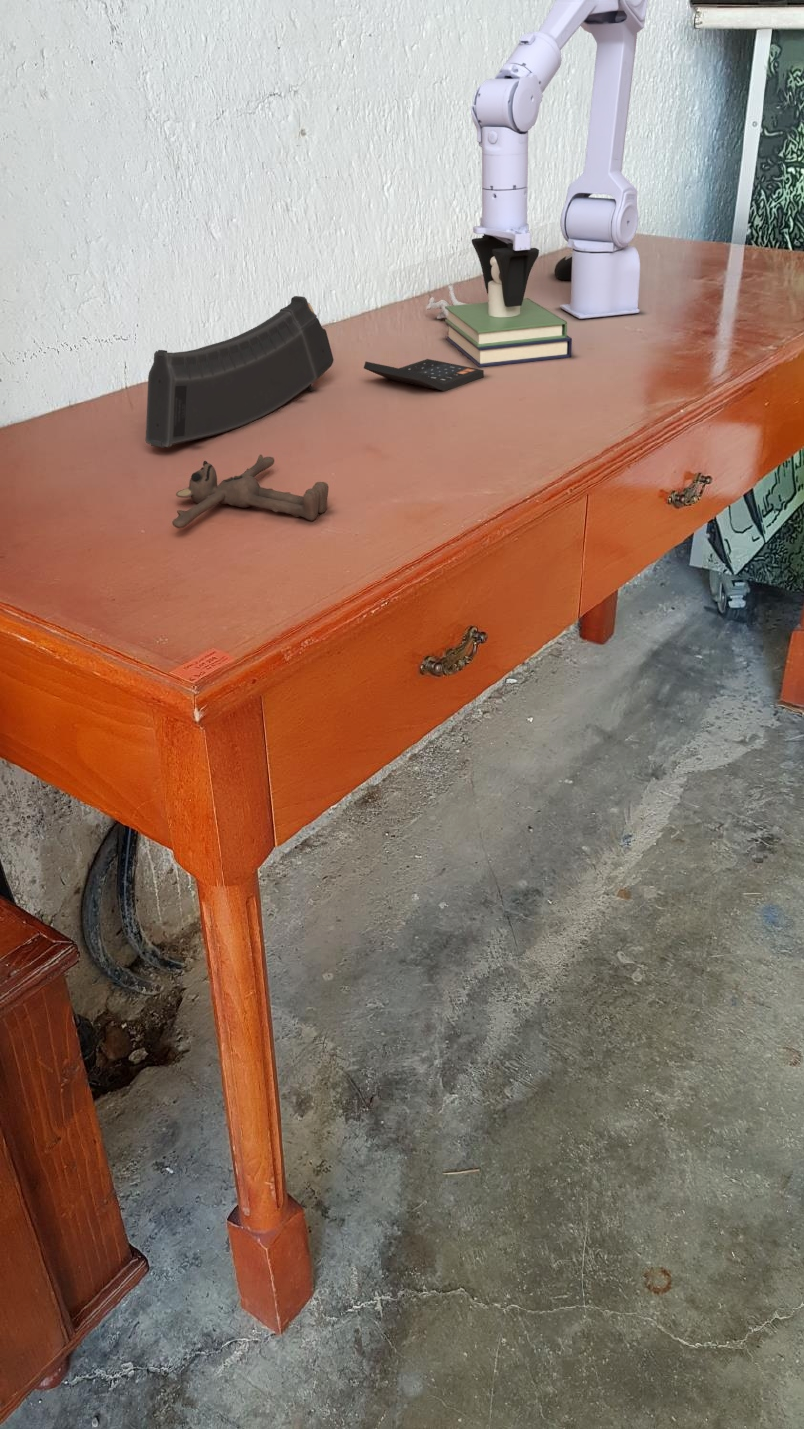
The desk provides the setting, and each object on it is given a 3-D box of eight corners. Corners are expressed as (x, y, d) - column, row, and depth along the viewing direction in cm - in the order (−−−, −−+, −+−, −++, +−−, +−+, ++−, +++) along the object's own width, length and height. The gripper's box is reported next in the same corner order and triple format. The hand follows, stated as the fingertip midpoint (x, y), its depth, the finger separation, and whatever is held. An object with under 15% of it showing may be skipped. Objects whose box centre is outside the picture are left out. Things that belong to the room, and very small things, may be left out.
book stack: (531, 330, 161) (531, 297, 159) (571, 357, 148) (572, 322, 146) (445, 339, 159) (444, 306, 157) (478, 367, 146) (478, 332, 144)
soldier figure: (458, 321, 172) (512, 306, 162) (446, 349, 171) (500, 335, 161) (422, 289, 167) (476, 271, 158) (410, 317, 166) (462, 301, 157)
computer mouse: (630, 279, 187) (632, 253, 185) (557, 282, 188) (557, 256, 186) (623, 270, 194) (624, 245, 192) (552, 273, 194) (553, 248, 192)
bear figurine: (274, 521, 97) (128, 488, 101) (275, 567, 99) (132, 533, 103) (361, 453, 111) (229, 426, 115) (360, 494, 113) (231, 467, 117)
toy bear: (488, 310, 154) (488, 253, 150) (520, 309, 153) (521, 252, 149) (487, 318, 150) (487, 259, 146) (519, 317, 150) (520, 258, 146)
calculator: (483, 377, 142) (483, 352, 141) (420, 399, 135) (420, 374, 134) (427, 365, 148) (426, 341, 146) (364, 386, 141) (363, 362, 139)
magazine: (140, 379, 114) (304, 237, 130) (116, 376, 116) (281, 236, 131) (195, 517, 126) (339, 372, 142) (173, 512, 128) (317, 369, 143)
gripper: (457, 182, 149) (459, 291, 156) (491, 197, 137) (491, 314, 144) (509, 178, 150) (508, 287, 157) (547, 192, 138) (544, 309, 145)
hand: (504, 299), depth 151 cm, fingers open, 7 cm apart
